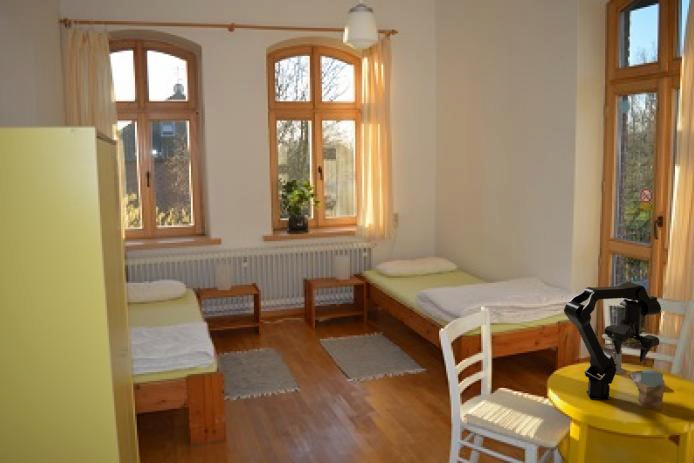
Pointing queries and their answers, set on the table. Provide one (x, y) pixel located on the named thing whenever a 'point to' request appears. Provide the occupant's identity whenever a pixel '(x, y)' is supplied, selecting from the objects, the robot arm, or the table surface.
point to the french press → (611, 348)
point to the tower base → (650, 402)
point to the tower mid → (650, 390)
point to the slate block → (651, 378)
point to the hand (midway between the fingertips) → (629, 357)
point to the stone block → (639, 377)
